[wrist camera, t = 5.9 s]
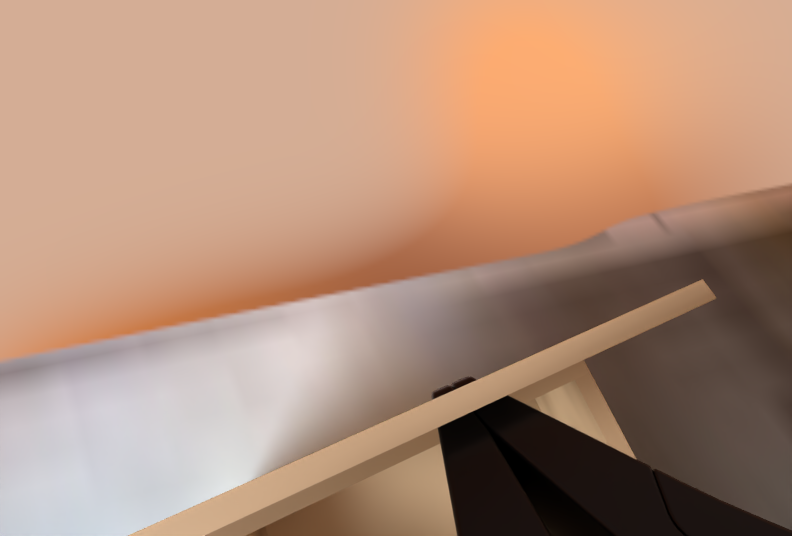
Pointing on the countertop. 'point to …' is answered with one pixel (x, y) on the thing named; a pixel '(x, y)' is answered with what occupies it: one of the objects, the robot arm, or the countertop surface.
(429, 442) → the carton
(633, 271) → the countertop surface
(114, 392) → the countertop surface
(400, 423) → the flap
